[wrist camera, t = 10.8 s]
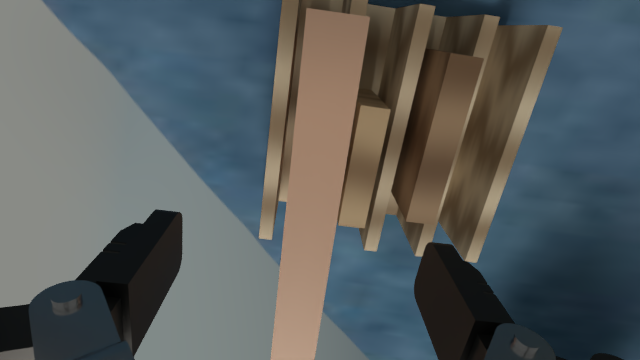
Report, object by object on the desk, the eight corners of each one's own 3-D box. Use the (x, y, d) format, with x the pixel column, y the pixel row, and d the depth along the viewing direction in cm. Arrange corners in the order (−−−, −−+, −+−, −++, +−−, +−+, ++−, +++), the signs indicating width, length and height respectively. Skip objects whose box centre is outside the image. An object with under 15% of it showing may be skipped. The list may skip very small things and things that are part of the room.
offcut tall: (407, 44, 30) (450, 53, 21) (431, 48, 31) (484, 58, 21) (380, 169, 34) (405, 221, 25) (400, 171, 35) (434, 224, 25)
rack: (284, -9, 30) (275, -21, 22) (505, 28, 31) (570, 28, 24) (264, 192, 37) (252, 237, 29) (446, 214, 38) (482, 263, 30)
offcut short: (348, 86, 32) (360, 105, 24) (371, 90, 32) (390, 109, 24) (332, 183, 35) (338, 225, 28) (352, 185, 35) (364, 228, 28)
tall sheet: (308, 20, 29) (306, 7, 9) (328, 23, 30) (370, 16, 9) (291, 181, 35) (266, 400, 14) (308, 183, 35) (307, 403, 15)
